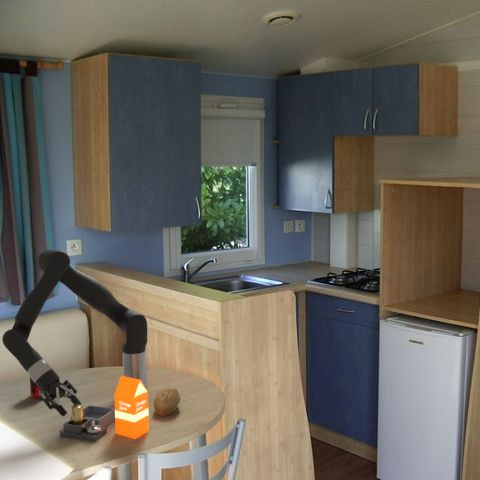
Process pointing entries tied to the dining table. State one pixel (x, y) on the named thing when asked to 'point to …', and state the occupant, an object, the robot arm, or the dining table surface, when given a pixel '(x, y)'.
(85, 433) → the crank housing
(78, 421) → the cylinder
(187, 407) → the dining table surface
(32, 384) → the canned food
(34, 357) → the robot arm
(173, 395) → the bread roll
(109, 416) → the tray
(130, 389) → the orange juice
